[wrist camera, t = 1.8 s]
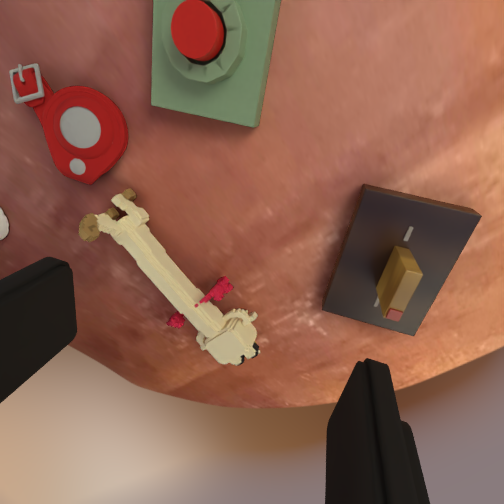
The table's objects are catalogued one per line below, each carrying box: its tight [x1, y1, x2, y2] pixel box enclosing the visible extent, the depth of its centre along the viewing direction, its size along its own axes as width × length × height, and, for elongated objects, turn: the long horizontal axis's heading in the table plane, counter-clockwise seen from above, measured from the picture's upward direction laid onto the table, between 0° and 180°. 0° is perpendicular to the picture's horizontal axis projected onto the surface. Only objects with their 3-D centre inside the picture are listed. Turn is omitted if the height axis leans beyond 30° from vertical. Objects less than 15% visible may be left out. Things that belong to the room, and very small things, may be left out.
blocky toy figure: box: [79, 189, 261, 365], centre depth 35 cm, size 10×9×25 cm
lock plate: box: [322, 184, 482, 336], centre depth 31 cm, size 14×10×2 cm
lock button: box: [171, 0, 224, 61], centre depth 23 cm, size 4×4×2 cm
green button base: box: [151, 0, 281, 128], centre depth 25 cm, size 12×10×4 cm
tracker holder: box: [9, 63, 128, 185], centre depth 32 cm, size 12×4×10 cm
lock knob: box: [376, 246, 423, 322], centre depth 28 cm, size 5×1×5 cm, turn 170°
